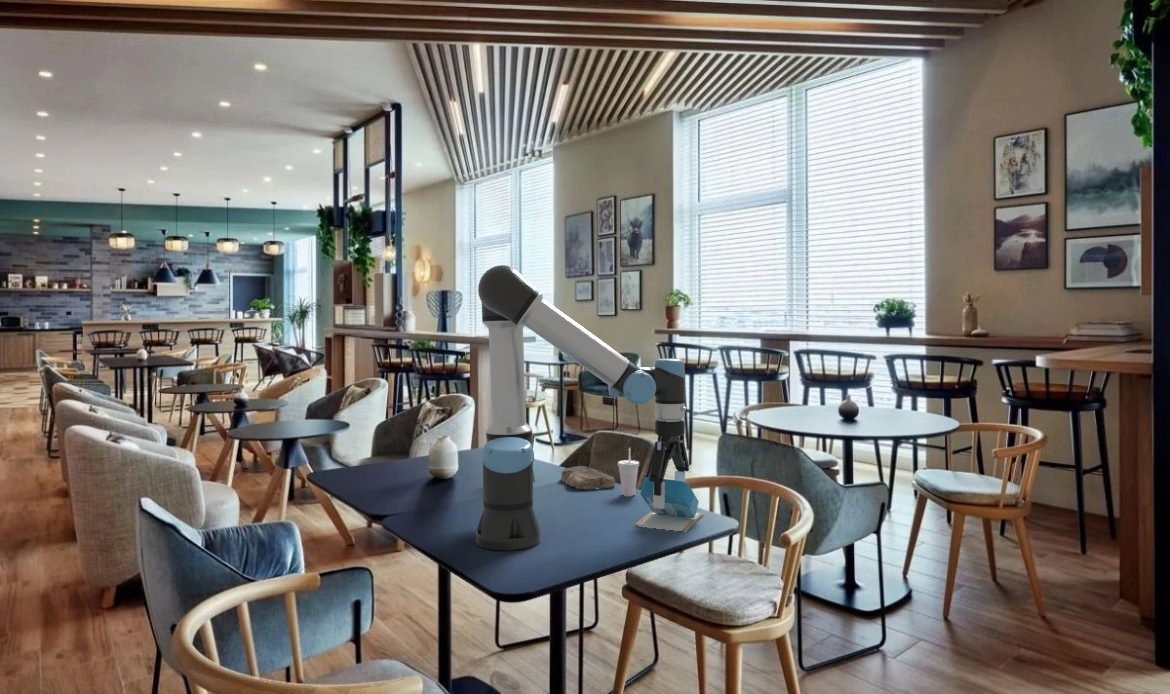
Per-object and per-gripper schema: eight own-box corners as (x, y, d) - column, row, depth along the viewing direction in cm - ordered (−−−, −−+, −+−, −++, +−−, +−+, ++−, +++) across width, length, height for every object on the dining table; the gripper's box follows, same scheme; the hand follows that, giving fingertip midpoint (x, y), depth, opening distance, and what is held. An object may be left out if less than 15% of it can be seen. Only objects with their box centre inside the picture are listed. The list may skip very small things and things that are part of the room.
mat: (685, 532, 176) (685, 529, 176) (635, 526, 181) (635, 523, 181) (703, 515, 190) (703, 513, 190) (656, 510, 195) (656, 507, 195)
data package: (696, 519, 185) (653, 513, 191) (700, 503, 187) (657, 498, 193) (682, 497, 176) (638, 492, 182) (687, 481, 179) (643, 476, 185)
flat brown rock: (553, 479, 235) (574, 491, 217) (553, 464, 235) (575, 475, 216) (592, 476, 240) (617, 488, 222) (593, 461, 240) (617, 472, 222)
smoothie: (627, 498, 208) (626, 450, 208) (613, 494, 213) (613, 447, 213) (643, 495, 212) (643, 448, 211) (629, 491, 217) (629, 444, 217)
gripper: (664, 426, 172) (663, 515, 173) (701, 414, 193) (700, 493, 194) (635, 424, 175) (635, 511, 176) (675, 412, 197) (674, 489, 198)
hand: (669, 501), depth 185 cm, fingers open, 13 cm apart
